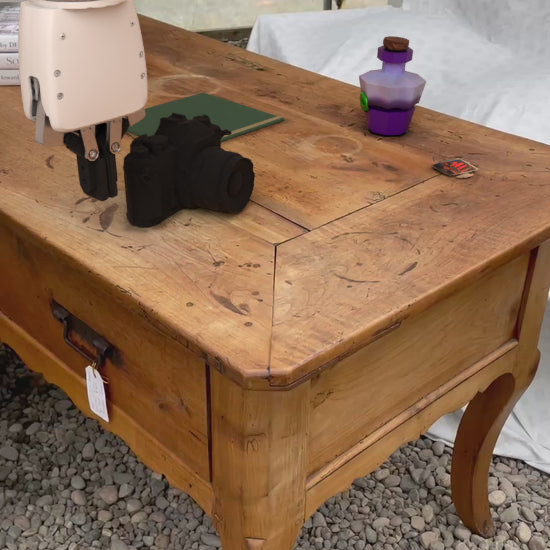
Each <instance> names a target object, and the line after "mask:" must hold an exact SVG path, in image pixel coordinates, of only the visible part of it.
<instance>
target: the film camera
mask: <svg viewBox="0 0 550 550" xmlns="http://www.w3.org/2000/svg"><path fill="white" fill-rule="evenodd" d="M230 134H232V133H231V131H229V130H226V129H225V130H221V128H220V127H219V126H218V125H215V124H212V123H211V121H210V118H209V117H208V116H207V115H205V114H204V115H203V116H195V117H193V119H192V120H188V119H187V118H186V115H182V114H178V113H172V115H171V116H169V117H167V118H166V117H163V118H160V124H159V127H158V129H157V131H156V132H155V134H154V135H151V136H147V135H146V134H143V135H141V136H137V137H135V138H134V139H132V140H131V142H130V144H129V152H128V153H127V154H126V155H125V156H124V157H123V164H122V170H123V181H124V182H123V183H124V194H125V205H126V215H125V217H126V219H127V221H128V223H130V225H131V226H135V227H138V228H150V227H154V226H157V225H158V224H160V223H162V222H163V221H165V220H167V219H168V218H169V217H171V216H172V215H174V214H175V213H177V212H179V211H181V210H183V209H187V208H189V209H190V210H196V209H199V208H201V209H205V210H213V211H216V212H218V213H222V214H227V213H232V214H237V213H239V212H242V211H243V210H244V209H245V208H246V206H247V205H248V204H249V202H250V200H251V198H252V194H253V191H254V187H255V178H256V175H255V174H256V173H255V172H254V162H253V161H252V159H250V158H249V157H244V156H243V155H242V154H240V153H238V152H236V151H230V150H225V149H224V148H222V142H221V138H222V137H223V136H224V135H230Z"/></svg>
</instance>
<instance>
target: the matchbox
mask: <svg viewBox="0 0 550 550" xmlns="http://www.w3.org/2000/svg"><path fill="white" fill-rule="evenodd" d="M431 167H432V168H434V169H436V171H439V172H440V173H442V174H445V175H446V176H449V177H450V176H455V177H456V178H457V179H458V178H459V179H463V178H464V179H466V178H467V179H468V178H470V177H473V176H474V175H475V173H473V172H474V171H478V170H479V168H478V167H476V166H474V165H473V164H471V163H470V161H465V160H463V159H462V158H460V157H456V158H453V159H452V158H450V159H448V160H443V161H442V160H441V161H438V162H436V163H434V164H432V165H431Z"/></svg>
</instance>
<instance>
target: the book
mask: <svg viewBox="0 0 550 550" xmlns="http://www.w3.org/2000/svg"><path fill="white" fill-rule="evenodd" d="M144 109H145V113H146V115H145V117H144V118H143V119H142V120H141V121H139V122H137V123H136V124H134V125H132V126H131V127H130V126H129V128H128V130H127V131H126V132H128V133H131V134H133V135H136V136H137V137H139V136H141V135H143V134H146V135H147V136H151V135H154V134H155V132H156V131H157V129H158V127H159V124H160V118H163V117H166V118H167V117H169V116H171V115H172V113H178V114H182V115H186V118H187V119H188V120H192V119H193V117H195V116H203V115H204V114H205V115H207V116H208V117H209V118H210V121H211V123H212V124H215V125H218V126H219V127H220V128H221V130H225V129H226V130H229V131H231V133H232V134H230V135H224V136H223V137H222V138H221V143H222V142H224V141H228V140H230V139H234V138H236V137H239V136H243V135H246V134H248V133H251V132H255V131H258V130H260V129H263V128H265V127H266V128H267V127H269V126H272V125H275V124H278V123H280V122H283V121H285V117H282V116H280V115H277V114H272V113H271V112H270V113H269V112H266V111H263V110H260V109H257V108H253V107H250V106H247V105H244V104H241V103H238V102H235V101H232V100H228V99H225V98H222V97H219V96H216V95H213V94H209V93H206V92H200V93H196V94H193V95H189V96H185V97H182V98H178V99H175V100H171V101H168V102H164V103H160V104H156V105H153V106H150V107H145V108H144Z"/></svg>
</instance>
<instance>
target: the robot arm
mask: <svg viewBox="0 0 550 550" xmlns="http://www.w3.org/2000/svg"><path fill="white" fill-rule="evenodd" d="M18 15H19V17H18V29H17V30H18V31H17V32H18V35H17V48H18V49H17V51H18V68H19V69H18V70H19V71H18V72H19V82H20V83H19V84H20V93H21V101H22V107H23V112H24V115H25V117H26V119H27V120H28V121H31V122H33V123H34V122H35V130H34V141H35V143H36V144H38V145H40V146H42V147H45V148H63V147H64V148H66V150H67V149H68V150H69V152H70V153H72V154H74V155H75V157H76V164H77V165H76V166H77V173H78V183H79V186H80V188H81V190H82V192H83V194H85V195H87V196H89V197H91V198H93V199H95V200H97V201H99V202H105V201H108V200H109V198H110V199H113V198H116V197H118V196H119V195H118V194H119V191H118V179H119V178H118V167H117V158H116V154H118V153H119V152H121V148H122V140H123V138H124V137H125V135H126V133H127V132H128V131H127V130H128V128H129V126H130V127H131V126H132V125H134V124H136V123H137V122H139V121H141V120H142V119H143V118H144V117H145V115H146V113H145V109H146V108H145V106H146V105H147V103H148V97H149V81H148V69H147V60H146V54H145V48H144V41H143V35H142V29H141V25H140V20H139V17H138V12H137V8H136V5H135V3H134V0H24V1H21V2H20V5H19V14H18Z"/></svg>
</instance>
